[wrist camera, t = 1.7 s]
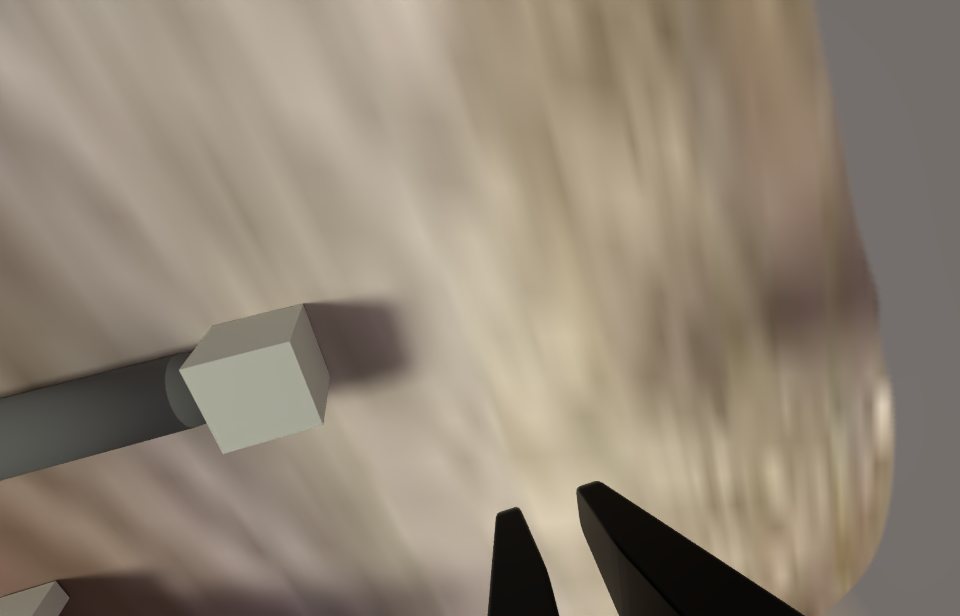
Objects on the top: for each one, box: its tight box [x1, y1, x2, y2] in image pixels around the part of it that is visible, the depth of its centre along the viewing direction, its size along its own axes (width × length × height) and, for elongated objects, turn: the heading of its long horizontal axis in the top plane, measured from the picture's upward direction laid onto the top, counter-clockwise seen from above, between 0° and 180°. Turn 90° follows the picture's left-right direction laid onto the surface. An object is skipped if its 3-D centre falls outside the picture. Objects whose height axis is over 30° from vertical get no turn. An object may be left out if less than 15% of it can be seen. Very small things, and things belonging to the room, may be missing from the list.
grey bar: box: [0, 304, 330, 481], centre depth 14 cm, size 3×12×3 cm, turn 100°
